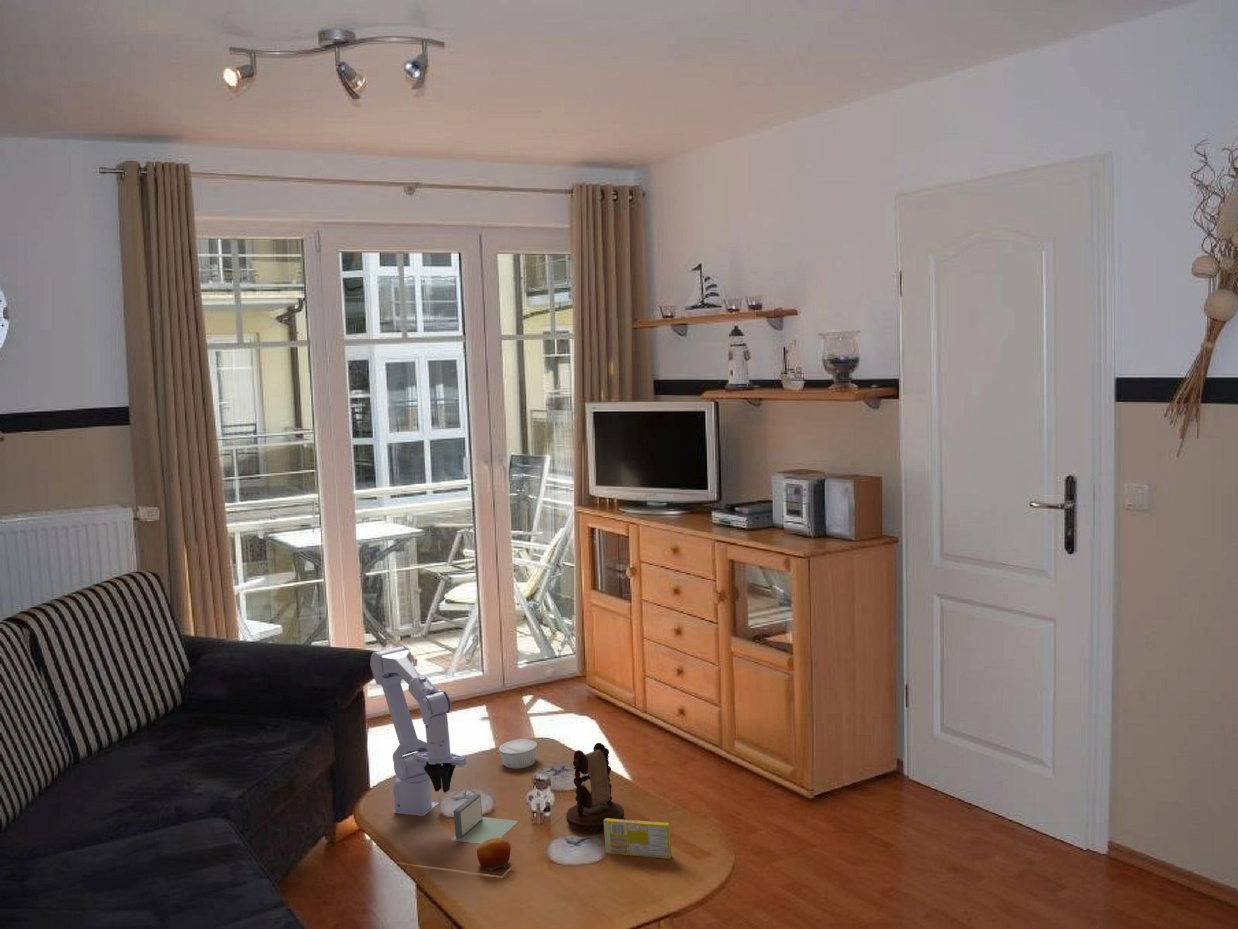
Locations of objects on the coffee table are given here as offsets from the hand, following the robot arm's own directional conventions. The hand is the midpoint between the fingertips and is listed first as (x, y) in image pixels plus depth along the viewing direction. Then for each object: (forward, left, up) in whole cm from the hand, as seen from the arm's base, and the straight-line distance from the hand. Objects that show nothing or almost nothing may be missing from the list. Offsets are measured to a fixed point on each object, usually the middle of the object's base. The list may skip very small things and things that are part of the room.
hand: (442, 790), depth 291 cm
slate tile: (+7, 0, -10) cm, 12 cm away
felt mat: (+11, 0, -10) cm, 15 cm away
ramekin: (-1, +44, -10) cm, 45 cm away
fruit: (+23, -16, -10) cm, 30 cm away
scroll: (+37, +12, -10) cm, 40 cm away
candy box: (+54, -2, -10) cm, 55 cm away
